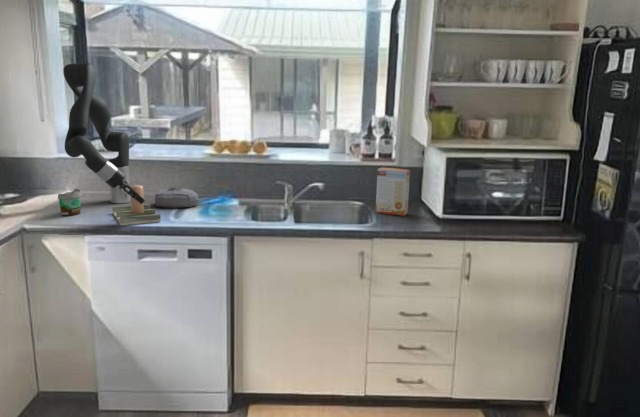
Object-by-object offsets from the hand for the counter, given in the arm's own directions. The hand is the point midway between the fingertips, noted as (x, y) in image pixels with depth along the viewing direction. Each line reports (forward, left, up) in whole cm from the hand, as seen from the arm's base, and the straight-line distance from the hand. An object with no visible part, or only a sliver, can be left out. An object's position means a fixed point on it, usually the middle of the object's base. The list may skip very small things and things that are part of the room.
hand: (141, 200), depth 239 cm
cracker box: (+30, +107, -9) cm, 111 cm away
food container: (-21, -25, -9) cm, 34 cm away
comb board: (-5, -2, -8) cm, 10 cm away
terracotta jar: (0, -2, -5) cm, 5 cm away
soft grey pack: (-22, +21, -9) cm, 32 cm away
